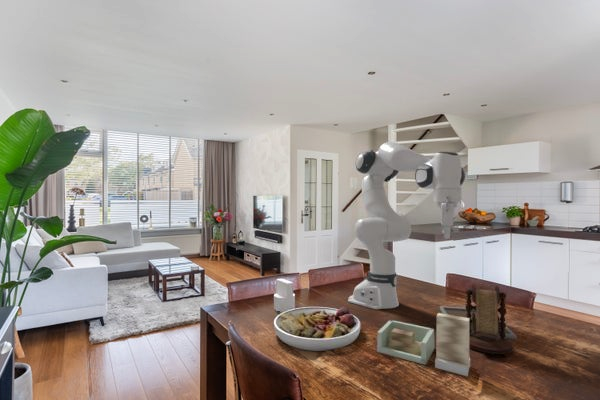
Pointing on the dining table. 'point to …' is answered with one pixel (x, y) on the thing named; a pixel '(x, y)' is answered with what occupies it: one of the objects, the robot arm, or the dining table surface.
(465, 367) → the holder
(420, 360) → the box
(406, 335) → the offcut short
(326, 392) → the dining table surface
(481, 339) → the scroll
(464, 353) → the beige streaked board
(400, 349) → the offcut long
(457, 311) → the framed board
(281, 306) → the base with upright slab
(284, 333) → the bowl
